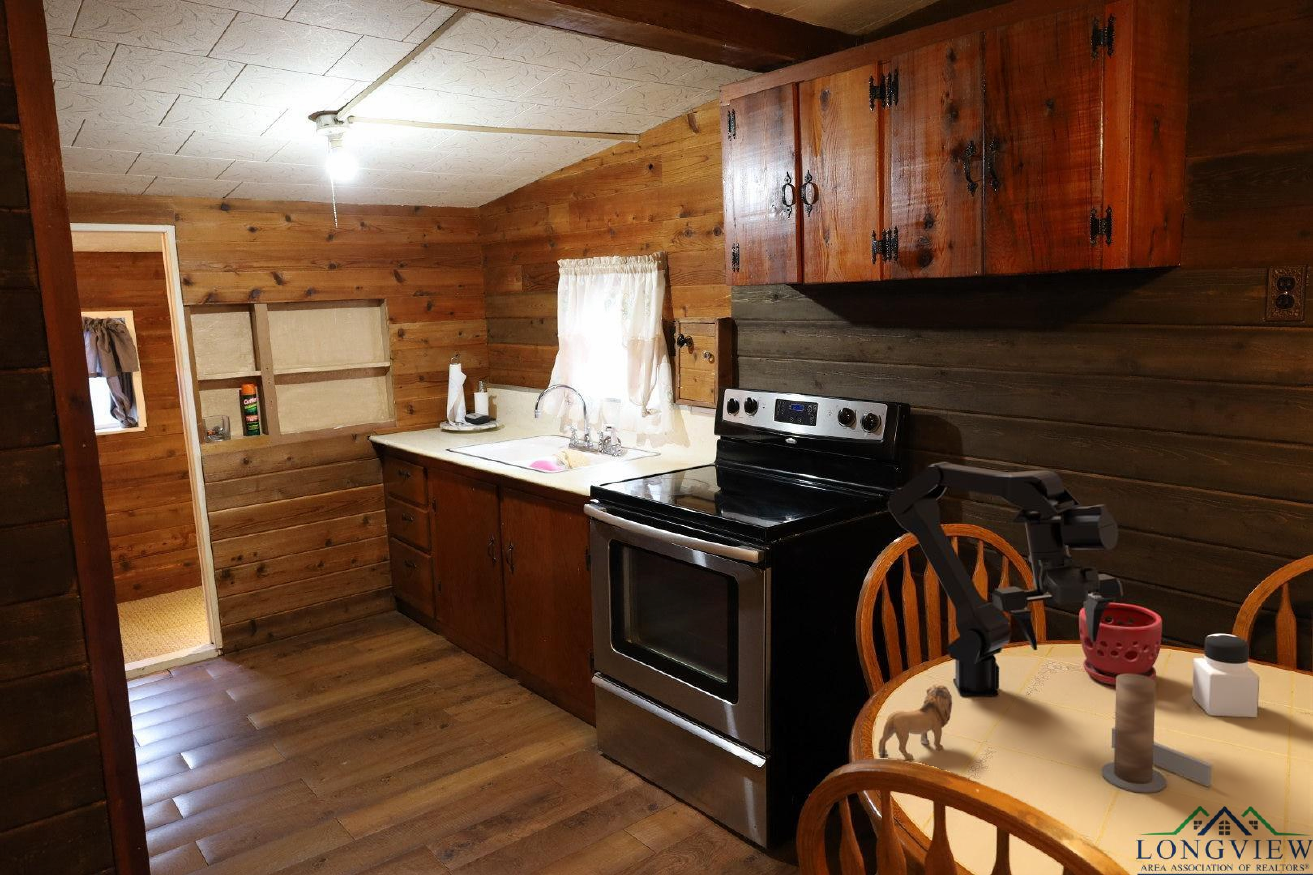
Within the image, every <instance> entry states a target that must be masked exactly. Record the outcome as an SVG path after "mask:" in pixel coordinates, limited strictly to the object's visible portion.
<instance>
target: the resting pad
mask: <svg viewBox="0 0 1313 875" xmlns="http://www.w3.org/2000/svg"><path fill="white" fill-rule="evenodd" d="M1101 776H1102V777H1103V779H1104V780H1105V781H1106V782H1108V783H1109V784H1111V785H1113V786H1115V787H1117V788H1120V789H1122V790H1125V791H1127V792H1132V793H1133V792H1134V793H1140V794H1154V793H1158V792H1159V793H1160V792H1161V791H1164V789H1165V788H1166V786H1167V779H1166V778H1165V776H1164V775H1163V774H1162V773H1161V772H1160V771H1158V770H1156V769H1154V768H1153V780H1152V781H1151V782H1150V783H1146V784H1135V783H1130V782H1126V781H1124V780H1122V779H1120V778H1118V777H1117V776H1116V775H1115V774H1114V761H1112V762H1108V763H1106V764H1105V765H1103V766H1102V768H1101Z"/></svg>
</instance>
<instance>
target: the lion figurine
mask: <svg viewBox="0 0 1313 875" xmlns="http://www.w3.org/2000/svg"><path fill="white" fill-rule="evenodd" d="M925 691H926V695H925V697H924V700H923V705H922V706H921V707H920V708H917V709H915V710H910V711H909V710H908V711H905V710H903V711H902V710H896V711H893V712H892V713H890V714H889V715H888V716H887V719H886V721H885V725H884V727H883V730H882V731H883V732H882V736H881V738H880V739H879V742H878V749H877V750H878V754H879V755H880V757H879V758H884V759H885V758H886V757H885V756H886V755H887V754H888V750H887V749H886V745H887V744H886V743H887V742H888V741H889V740H890V739H891V738H892V737H893V736H894V734H895V736H896V738H897V740H898V745H899V746H898V751H899V752H900V753H901V755H902V756H903V757H904V758H905V759H906V760H913V759H914V755H913V754H912V753H910V752H907V749H906V747H907V744H908V741H909V738H910V734H911V735H920V743H921V744H923V745H927V744H929V743H930V740H929V739H928V733H929V732H930V731H932V733H933V737H934V739H933V740H934V741H933V746H934V748H935V750H939V751H944V746H943V745H942V744H941V742H942V741H941V740H942V735H943V728H944V727H945V726H946V725H948V723H949V721H950V719H951V713H952V708H953V707H952V705H953V700H952V699H953V695H952V694H951V692H950V690H949V689H948V687H947V686H945V685H943V684H938V683H935V684H933V685H932V686H929V687H928V688H927V689H926V690H925Z"/></svg>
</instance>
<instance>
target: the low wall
mask: <svg viewBox="0 0 1313 875" xmlns="http://www.w3.org/2000/svg"><path fill="white" fill-rule="evenodd" d="M1111 748H1112V749H1115V726H1114V727H1112V728H1111ZM1154 765H1155V766H1157V767H1159V768H1162V769H1164V770H1166V771H1169V772H1171V773H1174V774H1176V775H1179V776H1181V777H1183V778H1186V779H1188V780H1191V781H1193V782H1196V783H1199V784H1200V785H1203V786H1206V787H1209V786H1212V773H1213V772H1212V770H1213V764H1212V763H1210V762H1207V761H1204V760H1202V759H1199V758H1196V757H1195V756H1191V755H1189V754H1186V753H1184V752H1182V751H1179V750H1176V749H1174V748H1171V747H1168V746H1166V745H1163V744H1160V743H1158V742H1155V741H1154V750H1153V766H1154Z"/></svg>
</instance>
